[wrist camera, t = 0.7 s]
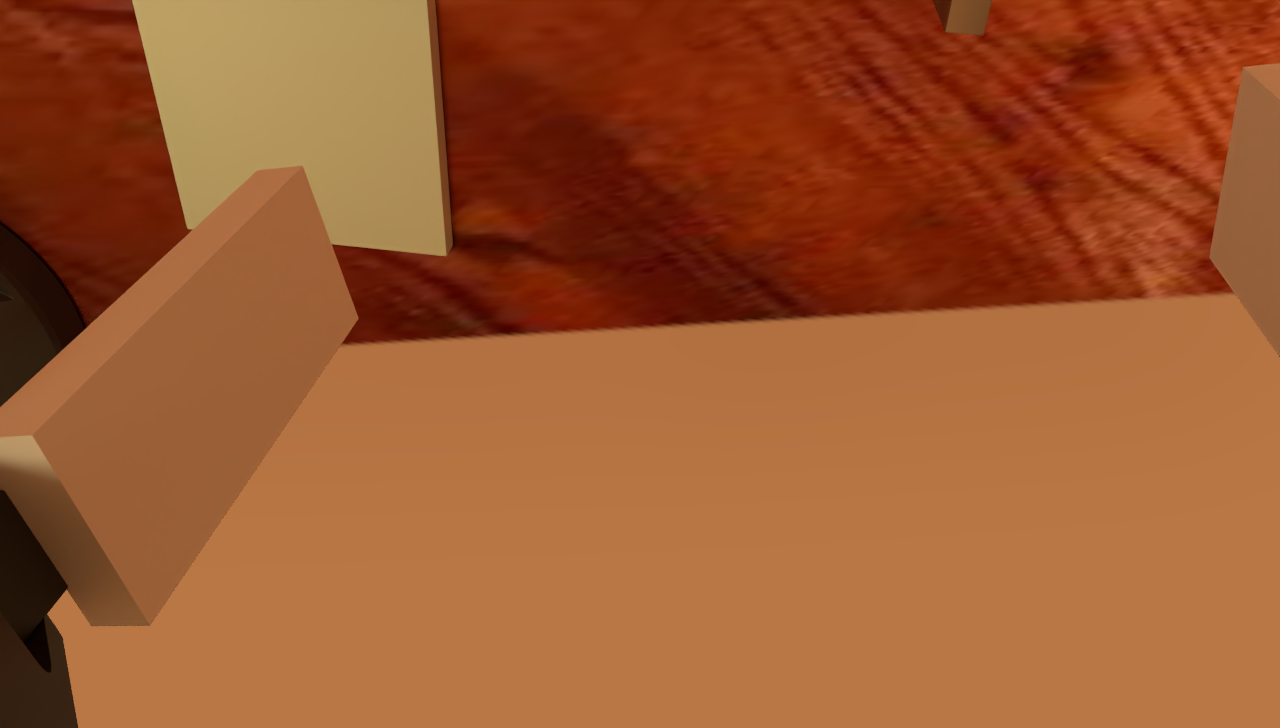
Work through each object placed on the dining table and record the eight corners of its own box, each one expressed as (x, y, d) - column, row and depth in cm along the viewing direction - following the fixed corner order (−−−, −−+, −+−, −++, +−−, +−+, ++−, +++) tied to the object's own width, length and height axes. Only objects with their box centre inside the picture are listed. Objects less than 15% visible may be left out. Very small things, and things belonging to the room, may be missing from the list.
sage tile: (198, 218, 46) (187, 228, 45) (133, -59, 39) (119, -53, 38) (452, 245, 45) (446, 256, 44) (432, -35, 38) (424, -28, 37)
